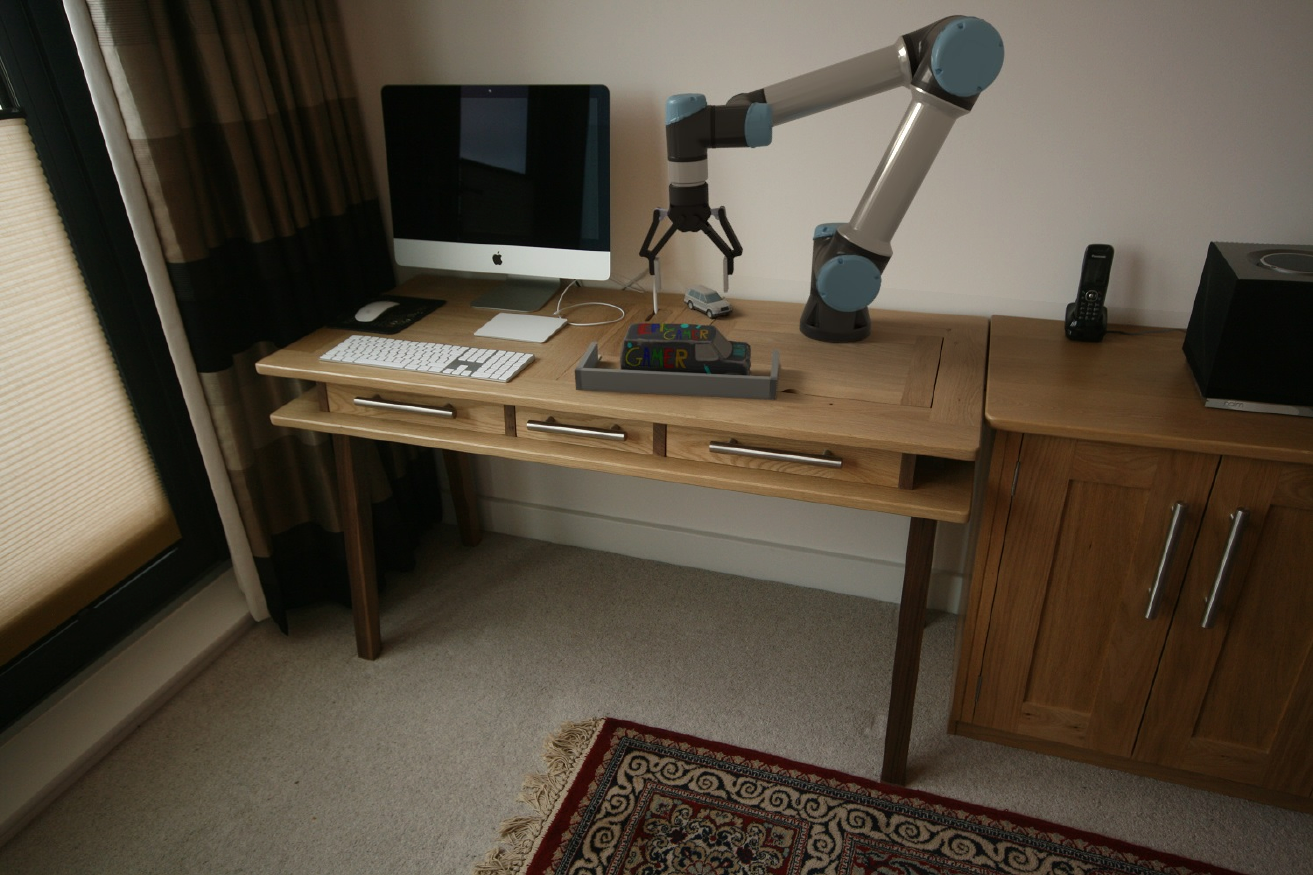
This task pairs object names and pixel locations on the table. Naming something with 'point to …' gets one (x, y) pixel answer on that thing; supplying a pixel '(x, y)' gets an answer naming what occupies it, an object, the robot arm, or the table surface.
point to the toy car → (707, 301)
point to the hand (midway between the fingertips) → (692, 290)
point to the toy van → (683, 350)
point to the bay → (673, 380)
